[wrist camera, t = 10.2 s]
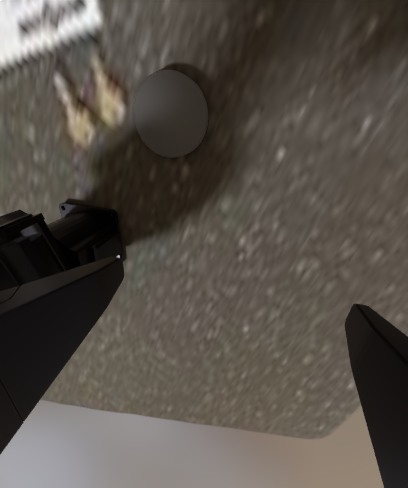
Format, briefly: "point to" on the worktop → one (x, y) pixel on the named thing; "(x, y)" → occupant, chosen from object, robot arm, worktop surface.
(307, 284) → the worktop surface
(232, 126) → the worktop surface
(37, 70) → the worktop surface
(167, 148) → the lens cap
